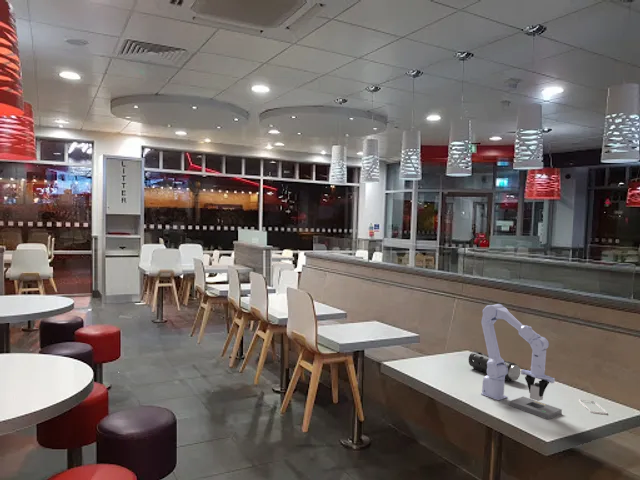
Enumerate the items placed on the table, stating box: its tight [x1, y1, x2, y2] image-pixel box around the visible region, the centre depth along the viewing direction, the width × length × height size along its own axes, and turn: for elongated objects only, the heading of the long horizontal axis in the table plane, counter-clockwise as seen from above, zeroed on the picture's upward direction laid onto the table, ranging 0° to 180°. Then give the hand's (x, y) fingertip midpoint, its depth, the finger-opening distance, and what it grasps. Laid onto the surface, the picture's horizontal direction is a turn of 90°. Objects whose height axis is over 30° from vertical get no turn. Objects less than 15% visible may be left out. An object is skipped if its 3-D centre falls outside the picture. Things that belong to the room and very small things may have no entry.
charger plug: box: [529, 382, 544, 402], centre depth 215 cm, size 4×4×7 cm
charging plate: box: [508, 396, 563, 420], centre depth 215 cm, size 18×12×2 cm, turn 38°
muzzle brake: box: [468, 350, 521, 382], centre depth 263 cm, size 10×28×10 cm, turn 30°
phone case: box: [578, 399, 608, 415], centre depth 222 cm, size 7×1×15 cm
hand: (536, 394), depth 215 cm, fingers closed on charger plug, 4 cm apart
